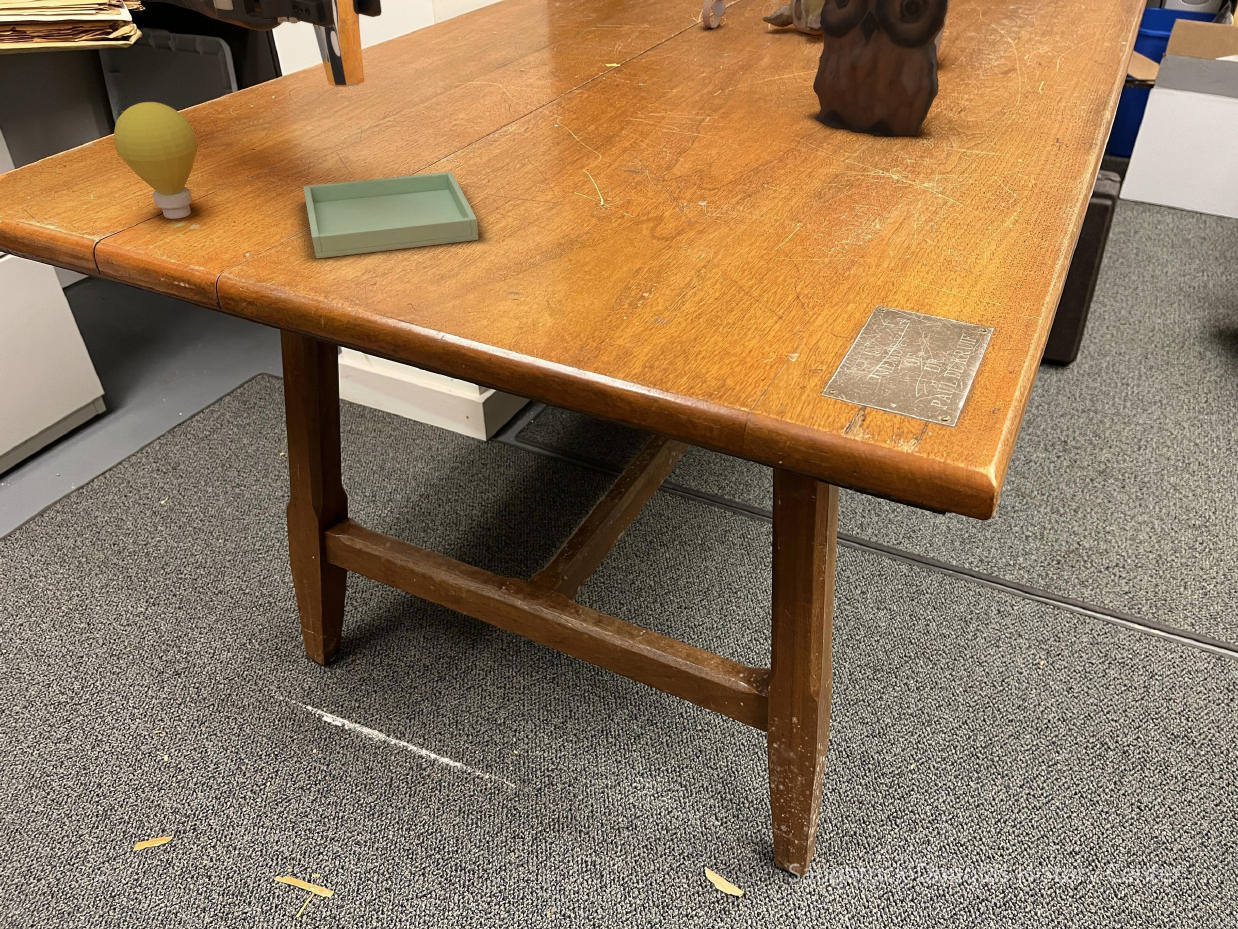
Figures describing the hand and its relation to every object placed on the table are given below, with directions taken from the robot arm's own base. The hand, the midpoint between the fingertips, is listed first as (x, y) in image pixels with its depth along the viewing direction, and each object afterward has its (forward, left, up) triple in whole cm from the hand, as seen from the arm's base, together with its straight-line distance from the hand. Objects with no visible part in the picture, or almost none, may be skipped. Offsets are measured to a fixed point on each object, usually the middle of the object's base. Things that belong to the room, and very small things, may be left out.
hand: (353, 7), depth 76 cm
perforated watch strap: (+61, +63, -18) cm, 90 cm away
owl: (+61, +12, -18) cm, 65 cm away
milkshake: (-2, +2, -7) cm, 7 cm away
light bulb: (-18, +4, -18) cm, 26 cm away
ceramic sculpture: (+76, +56, -18) cm, 96 cm away
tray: (0, -3, -18) cm, 18 cm away
